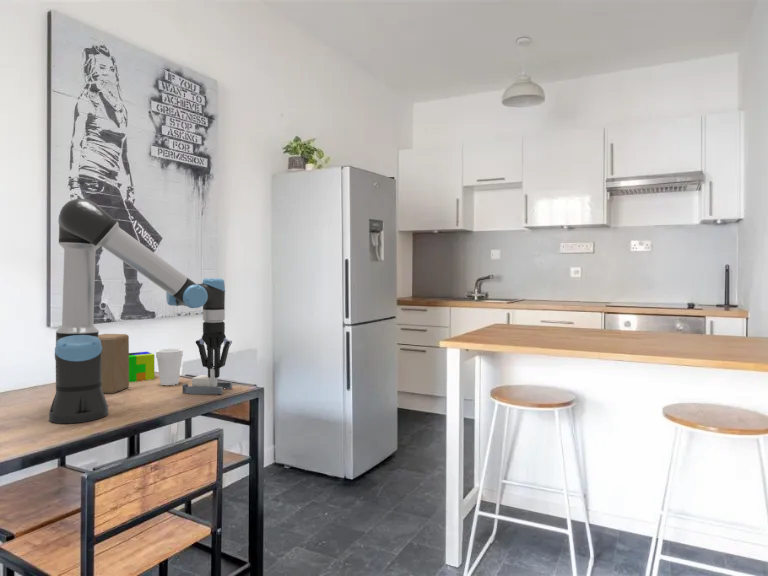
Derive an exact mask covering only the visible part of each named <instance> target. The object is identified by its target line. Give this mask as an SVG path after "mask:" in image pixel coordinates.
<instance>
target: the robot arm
mask: <svg viewBox="0 0 768 576" xmlns="http://www.w3.org/2000/svg"><path fill="white" fill-rule="evenodd" d="M57 221H58V245H59V246H61V247H62V248H63V274H62V275H63V278H62V281H63V283H62V284H63V285H62V310H61V311H62V313H61V314H62V315H61V316H62V319H61V321H62V322H61V326H60V327H59V328H58V329H56V331H55V347H54V360H55V395H54V397H53V401H52V403H51V405H50V409H49V411H48V421H49V422H51V423H56V424H76V423H84V422H90V421H95V420H98V419H99V420H100V419H102V418H104V417H106V416H107V415H109V404H108V402H107V399H106V397H105V393H103V391H102V385H101V381H102V380H101V351H102V345H101V340H100V339H99V338H98V335H100V334H99V330H98V328H97V327H95V326H94V322H95V321H94V319H95V318H94V317H95V288H96V287H95V285H96V284H95V283H96V281H95V280H96V279H95V278H96V251H97V250H98V249H100V248H101V247H102V248H103V249H105V250H106V251H107V252H109V253H111V254H112V255H114V256H115V257H116V258H117V259H119V260H120V261H122V262H124V263H125V264H126V265H128V266H129V267H130V268H132V269H133V270H135V271H137V273H140V274H141V275H142V276H144V277H145V278H146V279H147V280H149V281H150V282H152V283H153V284H155V285H157V286H158V287H159V288H160V289H162V290H164V291H165V294H166V303H167V304H168V305H169V306H174V307H179V306H183V307H187V308H190V309H200V308H201V307H202V320H203V321H204V322H202V335H201V338H200V339H198V340H196V341H195V344H196V345H197V347H198V352H199V357H200V360H201V361H200V362H201V365H202V367H203V368H206V369H207V375H208V377H209V378H210V386H211V387H216V386H217V381H218V378H220V376H221V375H220V374H221V373H220V371H221V369H222V368H223V367H225V365H226V362H227V358H228V354H229V350H230V347H231V344H233V341H232V340H231V339H230V340H229V339H227V337H226V334H225V331H226V330H225V329H226V327H225V326H226V324H225V323H226V322H225V320H226V314H225V313H226V312H225V311H226V309H225V307H226V305H225V304H226V303H225V302H226V290H225V289H226V286H225V285H226V284H225V280H224V279H223V278H203V279H202V282H201V283H196V282H194V281H193V280H192V279H190V278H189V277H187V275H185V274H184V273H182V272H181V271H180V270H178V269H176V267H174V266H173V265H171V264H170V263H168V262H167V261H166V260H164V259H163V258H162V257H160V256H159V255H158V254H156V253H155V252H154V251H152V250H151V249H149V248H148V247H147V246H145V245H144V244H143V243H141V242H140V241H139V240H137V239H136V238H134V237H133V236H132V235H130V234H129V233H128V232H126V231H125V230H124V229H122V228H121V227H120V226H119V225H120V224H119V221H117V220H115V219H114V218H113V217H112V216H111V215H110V214H109V213H108V212H106V211H105V210H104V209H103V208H102V207H100V205H98V204H97V203H95V202H93V200H89V199H88V198H87V199H85V198H74V199H72V200H69V201H67V202H66V203H65V204H64V205H62V207H61V209H60V212H59V215H58V220H57ZM205 345H206V347H205ZM222 345H223V347H222ZM221 348H222V351H221ZM220 368H221V369H220Z"/></svg>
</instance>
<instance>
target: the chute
mask: <svg viewBox="0 0 768 576" xmlns="http://www.w3.org/2000/svg"><path fill="white" fill-rule="evenodd" d="M181 386H182V393H187V394H186V395H203V394H222V393H223V391H224V390H225V389H231V388H232V389H233V381H218V380H217V386H216V387H211V386H192V385H189V383H183V384H182V385H181ZM224 388H225V389H224ZM232 389H231V390H232ZM188 393H189V394H188ZM223 394H224V393H223ZM223 394H222V395H223Z"/></svg>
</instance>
